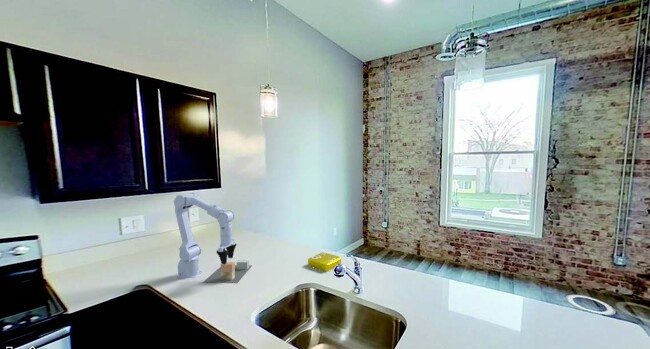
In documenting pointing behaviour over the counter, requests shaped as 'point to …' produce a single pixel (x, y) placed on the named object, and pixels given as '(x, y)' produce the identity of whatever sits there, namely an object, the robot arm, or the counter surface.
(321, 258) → the element tile
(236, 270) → the charcoal mat
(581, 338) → the counter surface
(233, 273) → the maple brick
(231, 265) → the terracotta brick
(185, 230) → the robot arm
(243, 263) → the grey brick
